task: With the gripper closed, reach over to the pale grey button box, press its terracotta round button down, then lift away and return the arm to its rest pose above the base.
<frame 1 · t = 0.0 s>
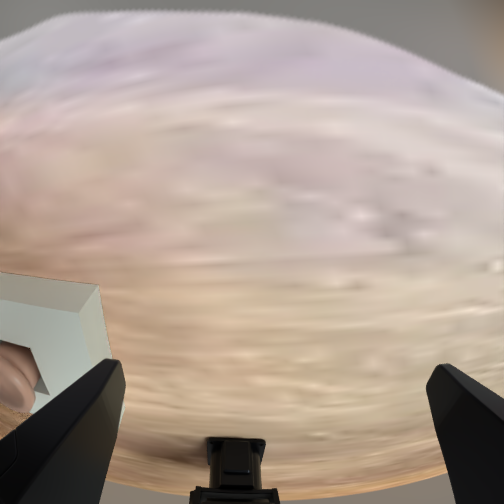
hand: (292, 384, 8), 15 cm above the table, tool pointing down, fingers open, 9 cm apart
button: (11, 373, 21), point 5 cm above the table, slide at 0.0 cm
button box: (33, 341, 25), on the table
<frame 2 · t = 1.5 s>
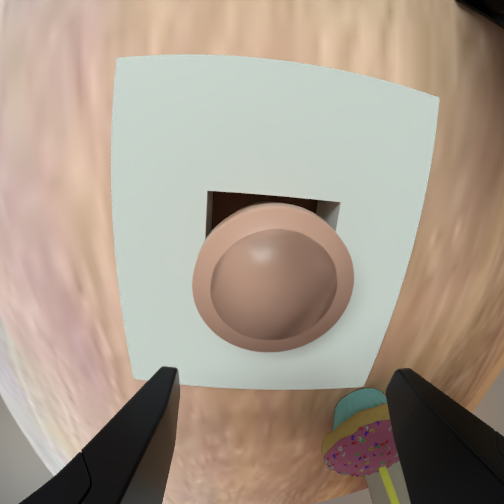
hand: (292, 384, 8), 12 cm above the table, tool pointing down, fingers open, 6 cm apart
cupcake: (357, 403, 26), on the table
travel mug: (390, 447, 31), on the table
button: (270, 267, 14), point 5 cm above the table, slide at 0.0 cm
button box: (263, 229, 19), on the table
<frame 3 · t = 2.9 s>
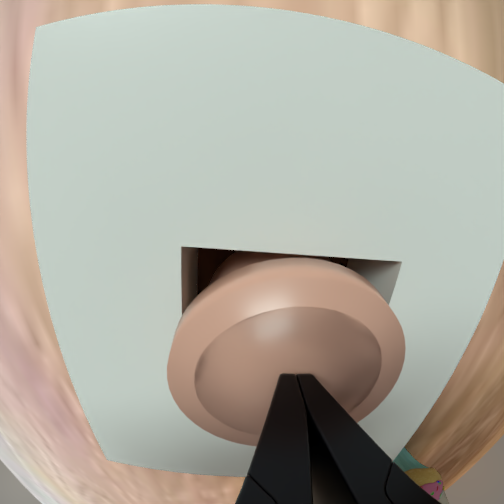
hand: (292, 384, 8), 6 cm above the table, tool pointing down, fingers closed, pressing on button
cupcake: (374, 458, 20), on the table
button: (282, 338, 10), point 4 cm above the table, slide at 1.4 cm, touching gripper
button box: (272, 282, 13), on the table
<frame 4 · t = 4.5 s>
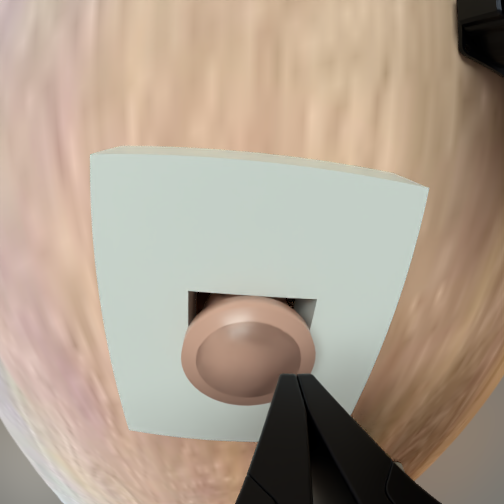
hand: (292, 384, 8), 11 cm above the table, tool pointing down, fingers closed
button: (247, 338, 16), point 3 cm above the table, slide at 1.7 cm
button box: (245, 304, 19), on the table
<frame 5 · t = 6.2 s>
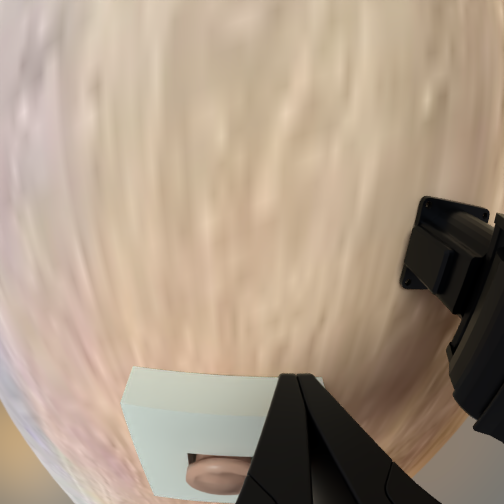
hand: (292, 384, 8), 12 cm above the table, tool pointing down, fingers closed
button: (223, 464, 24), point 3 cm above the table, slide at 1.7 cm
button box: (223, 436, 27), on the table
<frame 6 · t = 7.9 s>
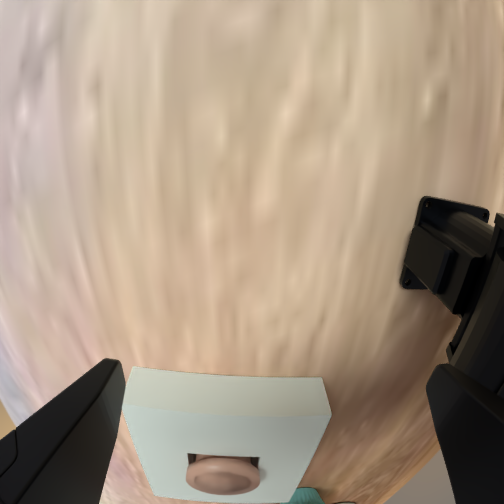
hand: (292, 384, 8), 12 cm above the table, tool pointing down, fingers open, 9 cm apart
cupcake: (298, 492, 34), on the table
button: (223, 464, 24), point 3 cm above the table, slide at 1.7 cm
button box: (223, 436, 27), on the table
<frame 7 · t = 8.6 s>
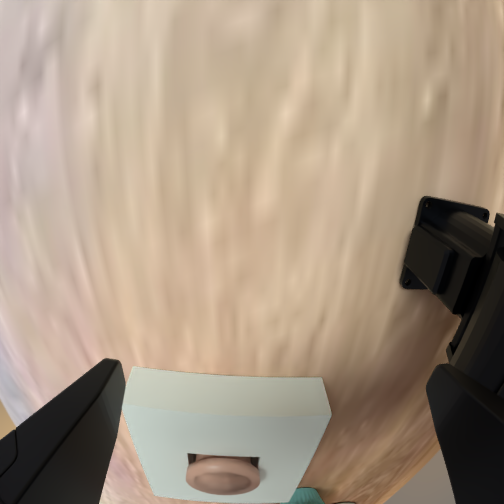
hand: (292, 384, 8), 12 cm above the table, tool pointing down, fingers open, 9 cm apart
cupcake: (298, 492, 34), on the table
button: (223, 464, 24), point 3 cm above the table, slide at 1.7 cm
button box: (223, 436, 27), on the table
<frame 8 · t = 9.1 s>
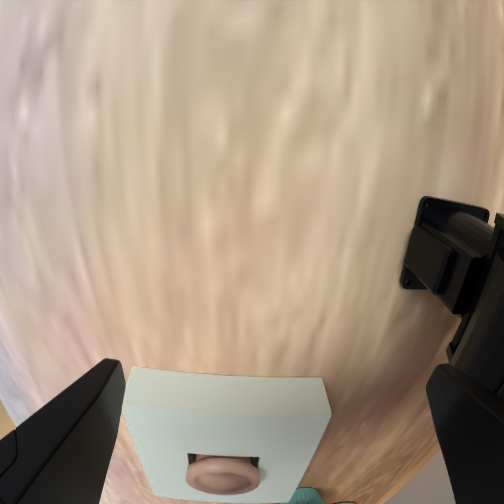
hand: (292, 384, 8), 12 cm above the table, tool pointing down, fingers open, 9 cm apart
cupcake: (298, 492, 34), on the table
button: (223, 464, 24), point 3 cm above the table, slide at 1.7 cm
button box: (223, 436, 27), on the table
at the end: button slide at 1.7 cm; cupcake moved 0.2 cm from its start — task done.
